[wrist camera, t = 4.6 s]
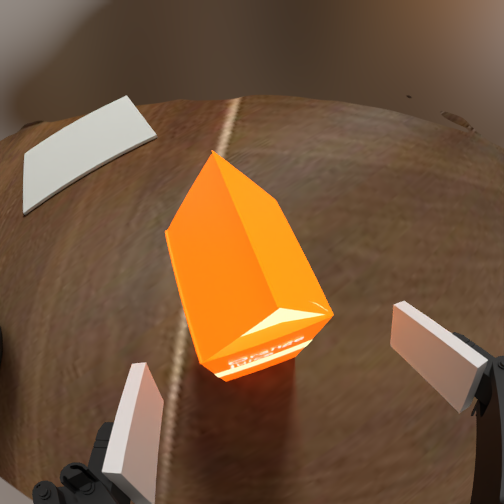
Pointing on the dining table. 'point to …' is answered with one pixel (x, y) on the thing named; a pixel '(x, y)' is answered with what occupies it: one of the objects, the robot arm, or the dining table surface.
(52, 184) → the rubber mat
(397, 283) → the dining table surface
